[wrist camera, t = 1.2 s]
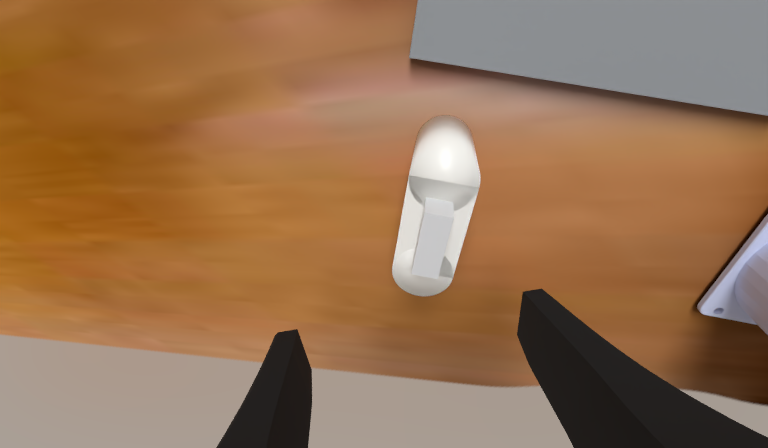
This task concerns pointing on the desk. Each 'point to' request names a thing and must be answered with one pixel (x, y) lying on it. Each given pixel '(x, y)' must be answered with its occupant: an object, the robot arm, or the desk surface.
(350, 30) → the desk surface
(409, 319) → the desk surface
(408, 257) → the connector plug
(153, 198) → the desk surface
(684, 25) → the desk mat
